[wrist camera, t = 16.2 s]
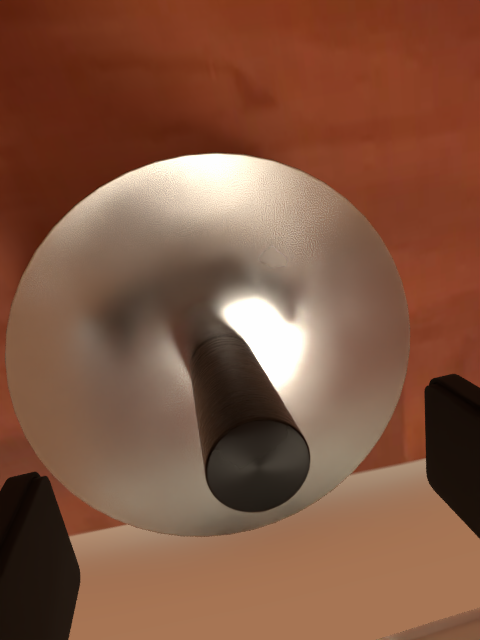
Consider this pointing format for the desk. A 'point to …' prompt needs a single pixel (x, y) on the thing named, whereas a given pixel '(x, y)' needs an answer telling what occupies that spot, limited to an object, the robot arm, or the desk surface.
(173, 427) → the lid
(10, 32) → the desk surface
